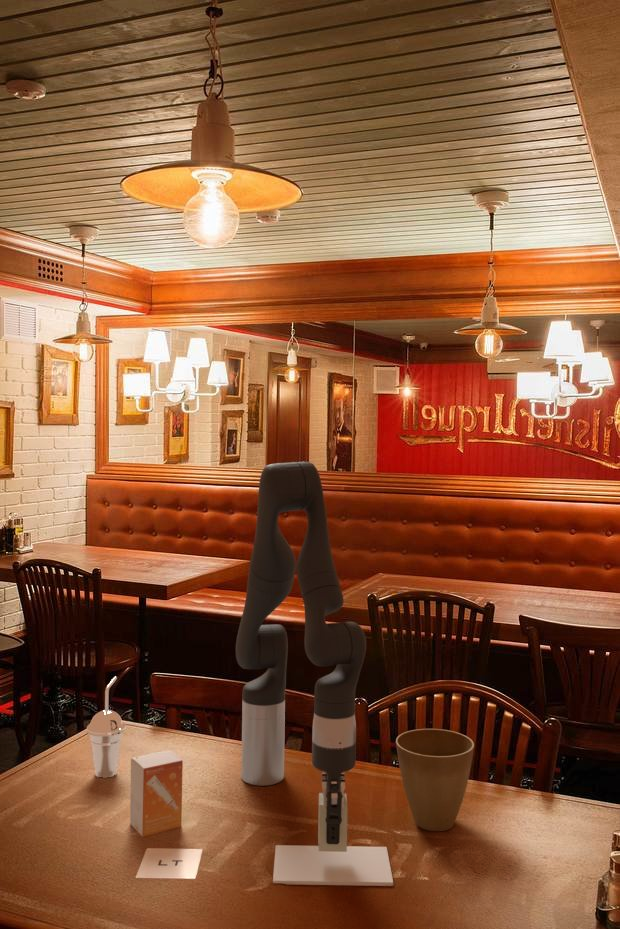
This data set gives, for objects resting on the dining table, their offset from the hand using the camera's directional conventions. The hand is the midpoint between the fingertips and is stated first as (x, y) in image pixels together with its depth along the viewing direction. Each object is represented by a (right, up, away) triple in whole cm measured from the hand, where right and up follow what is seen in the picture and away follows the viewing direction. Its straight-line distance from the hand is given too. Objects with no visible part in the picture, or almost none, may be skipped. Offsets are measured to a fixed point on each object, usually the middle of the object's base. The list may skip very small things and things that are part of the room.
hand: (332, 835), depth 146 cm
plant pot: (+20, -5, +17) cm, 27 cm away
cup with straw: (-48, -3, +38) cm, 61 cm away
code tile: (-28, -5, 0) cm, 29 cm away
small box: (-33, -5, +14) cm, 36 cm away
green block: (0, -2, 0) cm, 2 cm away
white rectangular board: (0, -6, 0) cm, 6 cm away
